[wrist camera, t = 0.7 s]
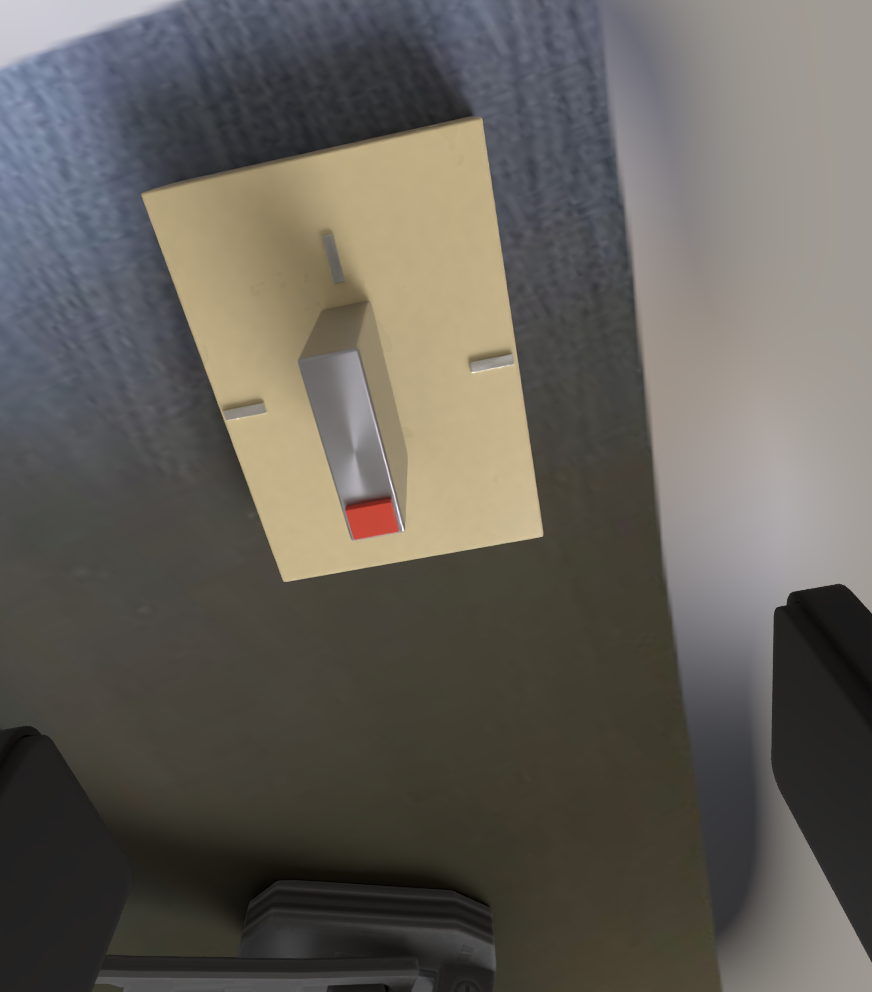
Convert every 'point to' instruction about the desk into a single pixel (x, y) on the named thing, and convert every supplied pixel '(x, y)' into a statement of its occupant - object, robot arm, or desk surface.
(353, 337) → the metal bar
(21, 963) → the robot arm
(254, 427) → the beige lever base
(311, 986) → the zipper pull
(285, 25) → the desk surface
